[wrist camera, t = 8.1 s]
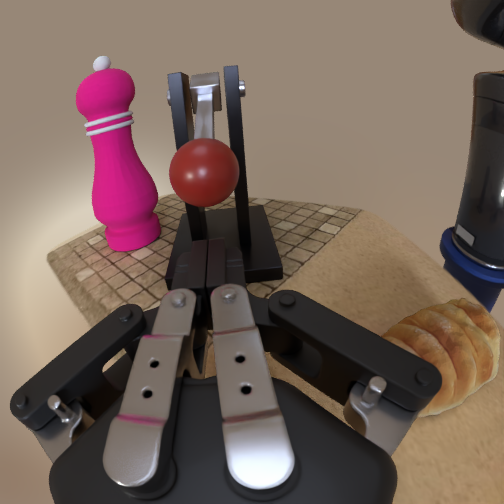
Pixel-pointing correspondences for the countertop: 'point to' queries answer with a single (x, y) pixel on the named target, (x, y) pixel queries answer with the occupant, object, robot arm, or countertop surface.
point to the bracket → (243, 216)
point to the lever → (204, 151)
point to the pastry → (452, 348)
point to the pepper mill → (117, 160)
